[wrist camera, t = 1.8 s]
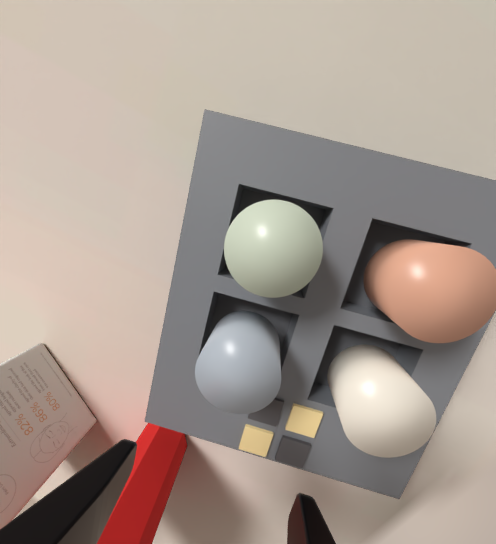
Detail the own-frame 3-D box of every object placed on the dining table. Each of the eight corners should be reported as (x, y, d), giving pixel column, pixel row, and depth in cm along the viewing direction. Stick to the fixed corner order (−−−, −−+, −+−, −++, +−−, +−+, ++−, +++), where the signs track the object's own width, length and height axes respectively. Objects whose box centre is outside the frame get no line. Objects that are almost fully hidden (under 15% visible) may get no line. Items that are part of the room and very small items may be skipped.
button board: (498, 200, 15) (559, 194, 12) (379, 455, 19) (400, 502, 16) (217, 130, 15) (203, 107, 12) (163, 391, 20) (143, 424, 16)
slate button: (288, 321, 14) (292, 350, 11) (269, 381, 15) (268, 424, 12) (219, 302, 14) (205, 325, 11) (205, 363, 15) (187, 400, 12)
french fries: (156, 493, 22) (22, 809, 10) (117, 470, 22) (-65, 763, 10) (202, 425, 20) (102, 718, 8) (159, 399, 20) (-5, 659, 8)
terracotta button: (459, 251, 13) (520, 261, 9) (426, 323, 13) (472, 354, 10) (379, 230, 13) (413, 234, 10) (352, 303, 14) (376, 328, 10)
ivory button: (411, 355, 14) (451, 395, 11) (385, 415, 15) (415, 468, 12) (340, 336, 14) (359, 369, 11) (318, 396, 15) (330, 442, 12)
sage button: (321, 215, 13) (336, 213, 10) (298, 288, 14) (305, 308, 11) (245, 195, 13) (236, 188, 10) (227, 269, 14) (214, 283, 11)
